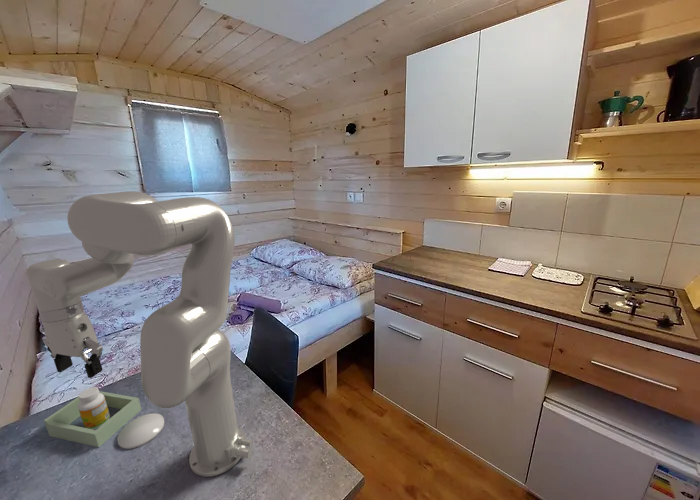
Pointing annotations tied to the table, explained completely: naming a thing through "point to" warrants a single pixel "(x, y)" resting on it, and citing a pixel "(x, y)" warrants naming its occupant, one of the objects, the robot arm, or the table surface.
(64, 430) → the frame
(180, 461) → the table surface
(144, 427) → the saucer
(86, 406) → the supplement bottle
